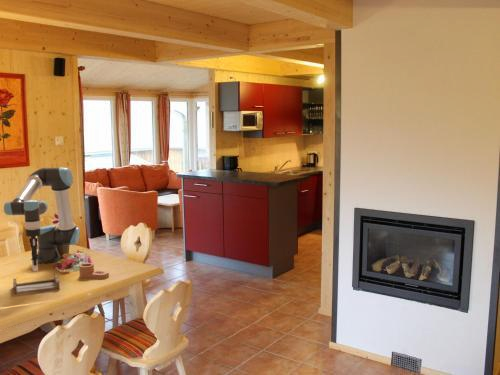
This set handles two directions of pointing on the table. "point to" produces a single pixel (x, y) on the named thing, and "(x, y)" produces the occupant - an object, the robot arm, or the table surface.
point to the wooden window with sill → (36, 286)
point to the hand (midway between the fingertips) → (35, 269)
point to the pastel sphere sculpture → (72, 262)
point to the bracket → (92, 272)
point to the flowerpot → (61, 248)
